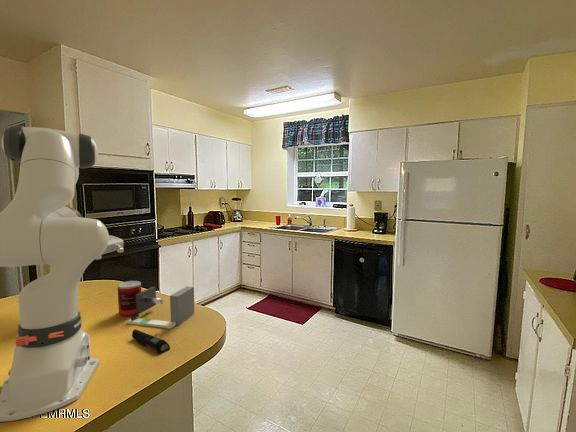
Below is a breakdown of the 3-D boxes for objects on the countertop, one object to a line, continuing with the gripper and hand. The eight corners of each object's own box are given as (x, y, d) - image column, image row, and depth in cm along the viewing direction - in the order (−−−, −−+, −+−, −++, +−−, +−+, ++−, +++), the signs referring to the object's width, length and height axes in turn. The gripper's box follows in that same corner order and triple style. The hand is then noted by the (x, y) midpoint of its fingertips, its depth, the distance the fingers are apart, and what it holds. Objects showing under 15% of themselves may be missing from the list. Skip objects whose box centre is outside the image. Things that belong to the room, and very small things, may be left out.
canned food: (135, 306, 115) (134, 279, 114) (146, 311, 110) (145, 283, 109) (114, 313, 109) (113, 284, 108) (125, 318, 104) (123, 288, 103)
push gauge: (127, 323, 101) (125, 295, 100) (152, 308, 113) (151, 283, 112) (173, 329, 96) (172, 299, 96) (194, 313, 109) (193, 287, 108)
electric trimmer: (140, 336, 93) (140, 326, 93) (171, 349, 84) (170, 339, 84) (129, 341, 90) (128, 331, 89) (159, 356, 81) (158, 345, 81)
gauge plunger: (130, 319, 101) (129, 297, 100) (153, 306, 112) (152, 286, 112) (148, 321, 99) (147, 299, 98) (169, 307, 111) (169, 287, 110)
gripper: (57, 243, 105) (84, 253, 101) (108, 231, 124) (133, 239, 120) (57, 259, 107) (84, 270, 102) (108, 245, 126) (132, 254, 121)
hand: (111, 253), depth 111 cm, fingers open, 8 cm apart
